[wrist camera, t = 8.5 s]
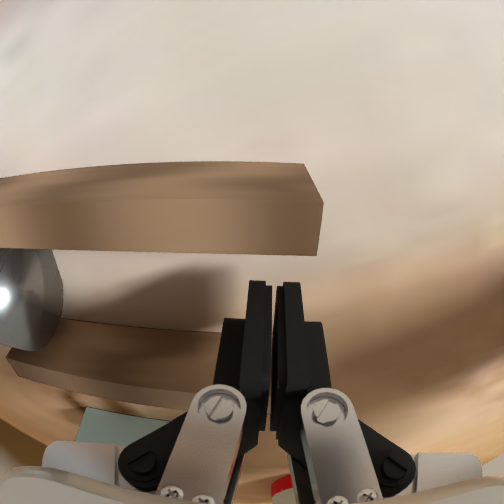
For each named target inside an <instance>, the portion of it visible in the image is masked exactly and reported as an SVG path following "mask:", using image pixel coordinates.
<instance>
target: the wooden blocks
mask: <svg viewBox="0 0 504 504" xmlns="http://www.w3.org/2000/svg"><path fill="white" fill-rule="evenodd" d="M323 203H324V202H323V200H322V198H321V196H320V194H319V192H318V190H317V188H316V186H315V184H314V183H313V181H312V179H311V177H310V175H309V173H308V171H307V169H306V167H305V165H304V164H296V163H272V162H164V163H141V164H124V165H109V166H97V167H85V168H75V169H66V170H57V171H48V172H40V173H33V174H26V175H19V176H12V177H6V178H0V248H23V249H59V250H96V251H134V252H173V253H213V254H255V255H297V256H317V249H318V242H319V235H320V227H321V220H322V212H323ZM272 336H273V334H272ZM220 339H221V333H210V332H192V331H176V330H162V329H150V328H138V327H128V326H118V325H109V324H100V323H92V322H84V321H76V320H69V319H62V318H60V321H59V324H58V327H57V330H56V332H55V334H54V336H53V337H52V339H51V340H50V341H49V343H48V344H47V345H46V346H44V347H43V348H42V349H40V350H37V351H26V350H22V349H18V348H14V347H12V348H11V350H10V352H9V353H8V355H7V356H6V359H7V360H8V362H9V363H10V365H11V366H12V368H13V369H14V371H15V372H16V374H17V375H18V376H20V377H23V378H26V379H29V380H33V381H36V382H39V383H43V384H46V385H50V386H54V387H58V388H61V389H65V390H69V391H74V392H78V393H82V394H87V395H91V396H96V397H101V398H106V399H111V400H117V401H123V402H129V403H135V404H141V405H148V406H156V407H164V408H172V409H182V410H189V408H190V405H191V403H192V400H193V399H194V397H195V395H196V394H197V393H198V392H199V391H200V390H202V389H203V388H205V387H208V386H211V385H213V380H214V374H215V368H216V362H217V356H218V350H219V344H220ZM271 358H272V343H271ZM270 411H271V383H270V392H269V401H268V409H267V414H270Z"/></svg>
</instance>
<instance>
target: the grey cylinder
mask: <svg viewBox="0 0 504 504" xmlns="http://www.w3.org/2000/svg"><path fill="white" fill-rule="evenodd" d="M62 306H63V282H62V279H61V276H60V273H59V270H58V267H57V264H56V261H55V258H54V255H53V252H52V250H51V249H23V248H0V344H3V345H7V346H10V347H14V348H18V349H22V350H26V351H37V350H40V349H42V348H43V347H44V346H46V345H47V344H48V343H49V341H50V340H51V339H52V337H53V336H54V334H55V332H56V330H57V327H58V324H59V321H60V317H61V313H62Z"/></svg>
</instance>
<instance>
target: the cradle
mask: <svg viewBox="0 0 504 504" xmlns="http://www.w3.org/2000/svg"><path fill="white" fill-rule="evenodd" d="M169 422H170V421H162V420H155V419H148V418H142V417H135V416H129V415H124V414H118V413H113V412H108V411H103V410H99V409H94V408H90V407H86V410H85V413H84V416H83V419H82V421H81V424H80V427H79V430H78V433H77V436H76V439H75V442H86V443H103V444H116V446H128V445H129V444H131V443H133V442H135V441H136V440H138V439H140V438H142V437H144V436H146V435H148V434H149V433H151V432H153V431H155V430H157V429H158V428H160V427H162V426H164V425H165V424H167V423H169Z"/></svg>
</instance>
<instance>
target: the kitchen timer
mask: <svg viewBox="0 0 504 504" xmlns="http://www.w3.org/2000/svg"><path fill="white" fill-rule="evenodd" d="M271 487H272V504H296V501H295V495H294V490H293V484H292V479H291V475H288V476H285V477H283V478H281V479H279V480H277V481H275V482H274V483H273V484H272V485H271Z"/></svg>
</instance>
